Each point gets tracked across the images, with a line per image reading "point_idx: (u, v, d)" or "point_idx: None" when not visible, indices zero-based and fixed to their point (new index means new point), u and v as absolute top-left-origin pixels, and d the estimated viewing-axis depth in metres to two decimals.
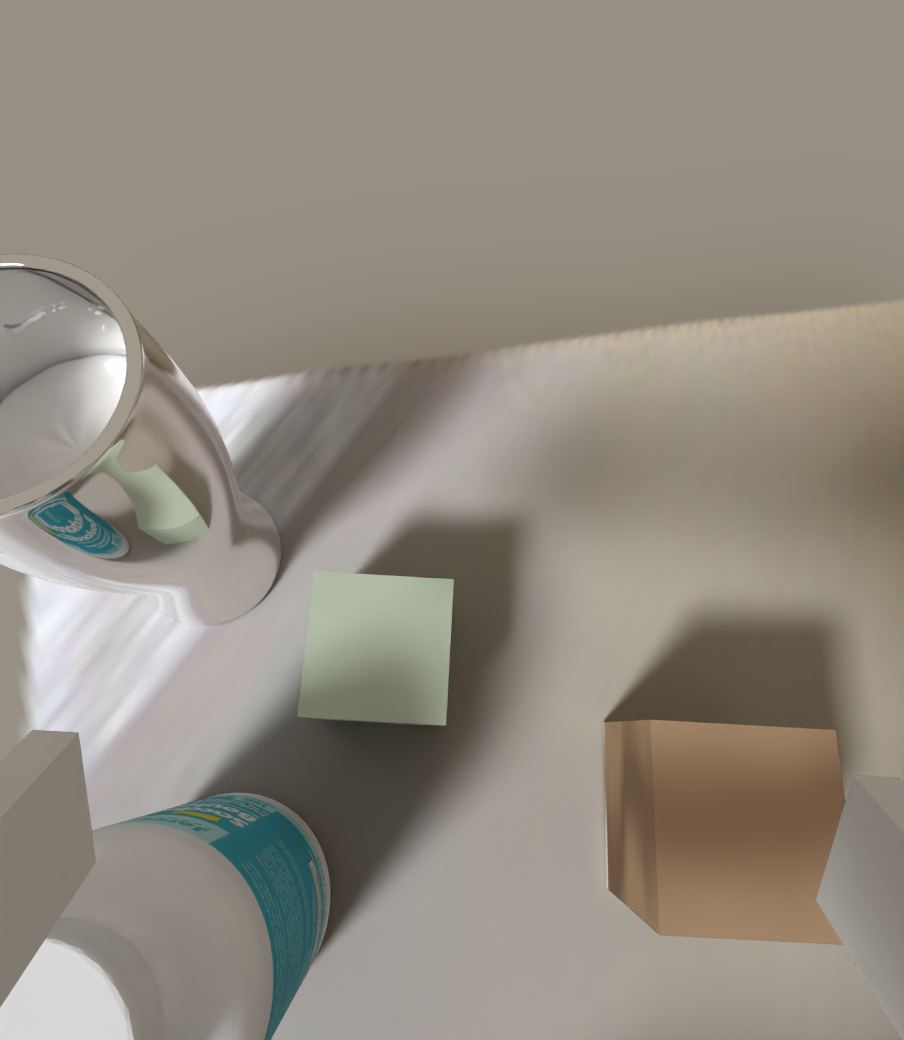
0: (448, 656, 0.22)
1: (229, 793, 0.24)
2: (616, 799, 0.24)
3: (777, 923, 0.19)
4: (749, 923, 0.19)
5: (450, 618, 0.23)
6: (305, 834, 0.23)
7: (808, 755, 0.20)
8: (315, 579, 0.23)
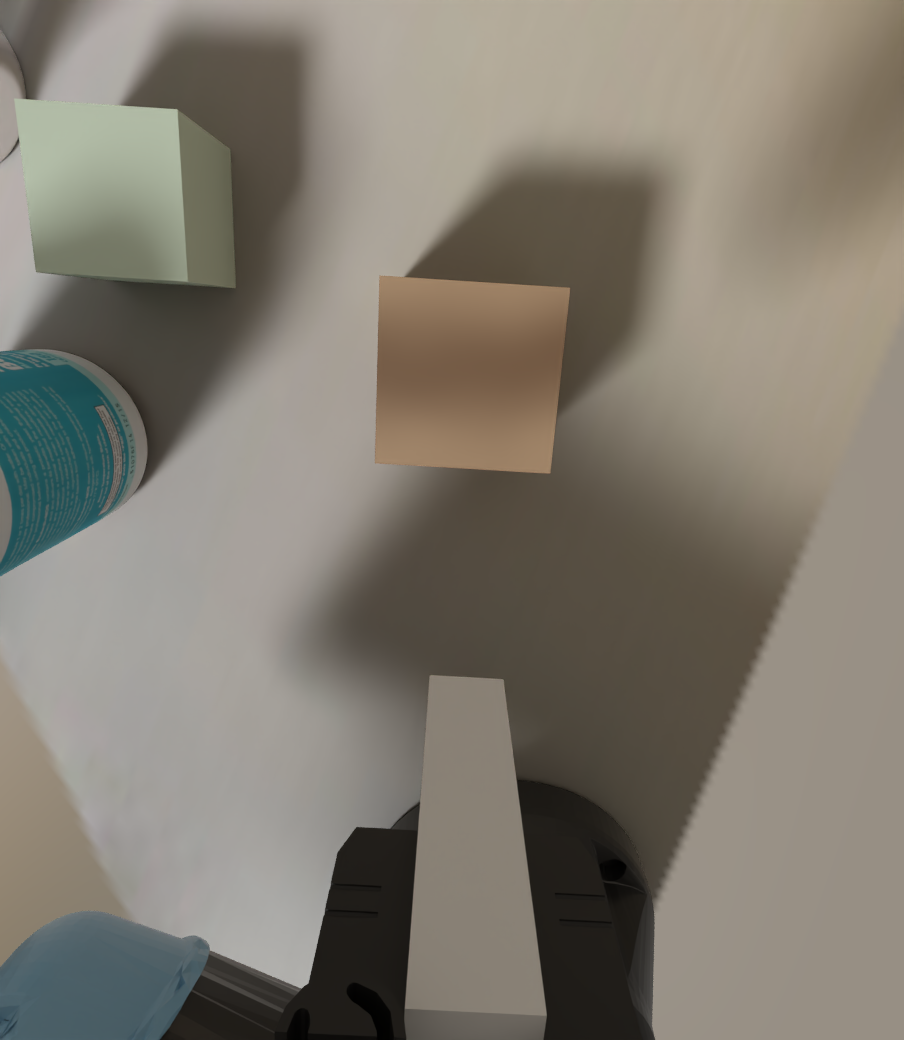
0: (182, 206, 0.21)
1: (30, 349, 0.26)
2: None
3: (478, 456, 0.22)
4: (454, 455, 0.22)
5: (179, 160, 0.20)
6: (101, 385, 0.25)
7: (536, 313, 0.20)
8: (18, 109, 0.20)
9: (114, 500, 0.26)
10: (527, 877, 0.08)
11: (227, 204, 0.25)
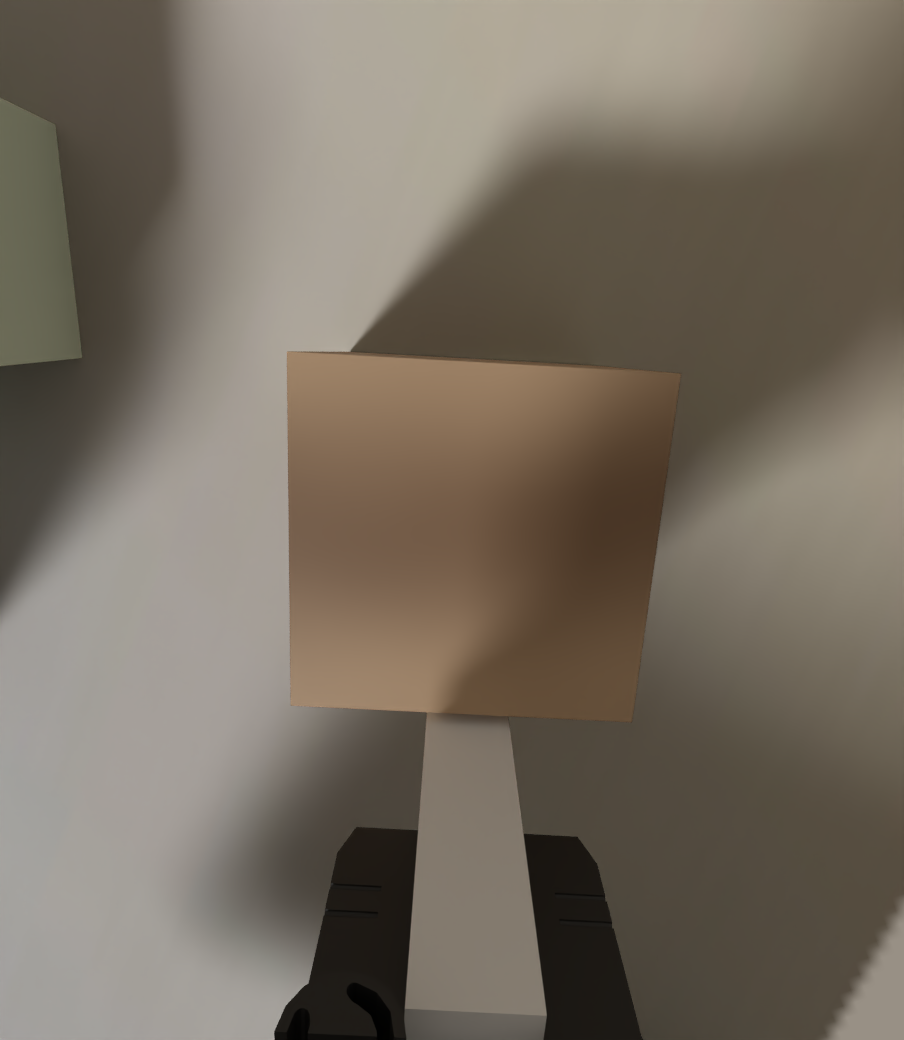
0: None
1: None
2: None
3: (492, 692, 0.11)
4: (444, 691, 0.11)
5: None
6: None
7: (609, 424, 0.10)
8: None
9: None
10: (527, 877, 0.08)
11: (50, 219, 0.14)
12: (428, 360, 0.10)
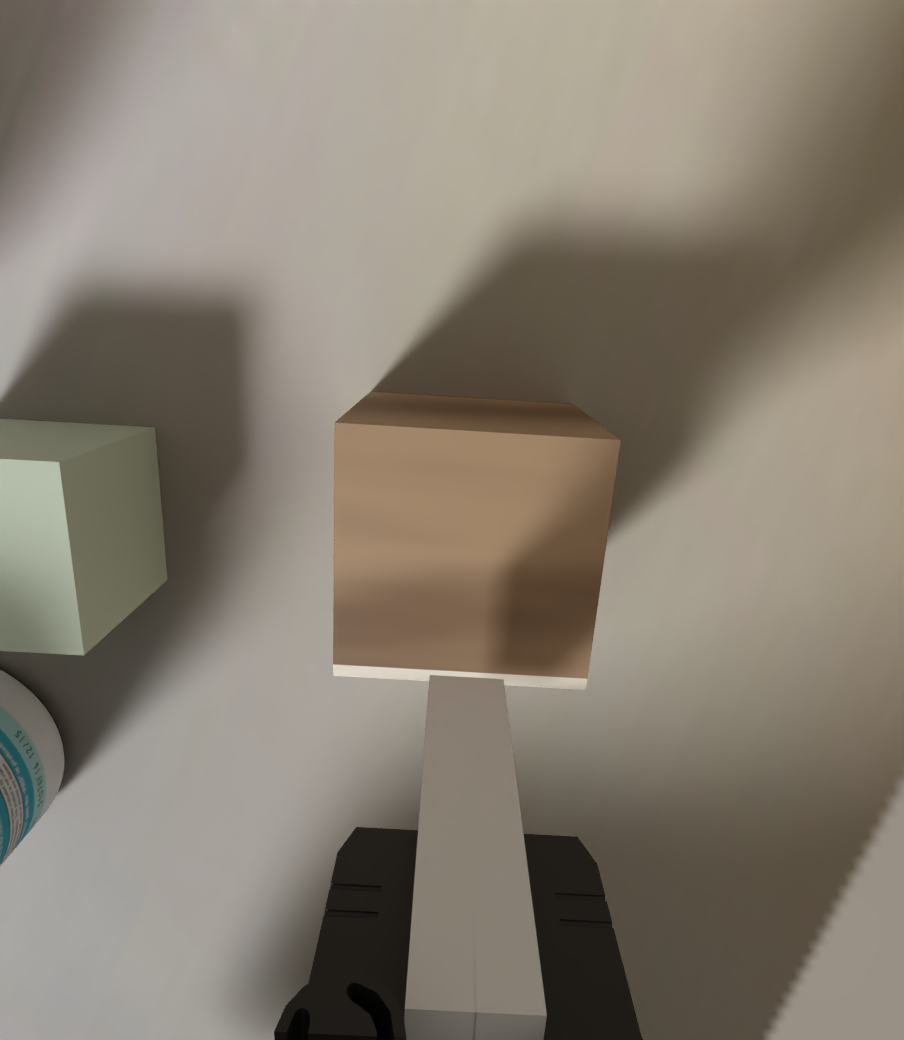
0: (72, 571, 0.16)
1: None
2: None
3: (500, 428, 0.14)
4: (462, 427, 0.14)
5: (65, 520, 0.15)
6: None
7: (542, 404, 0.18)
8: None
9: (16, 845, 0.21)
10: (527, 877, 0.08)
11: (151, 496, 0.19)
12: None
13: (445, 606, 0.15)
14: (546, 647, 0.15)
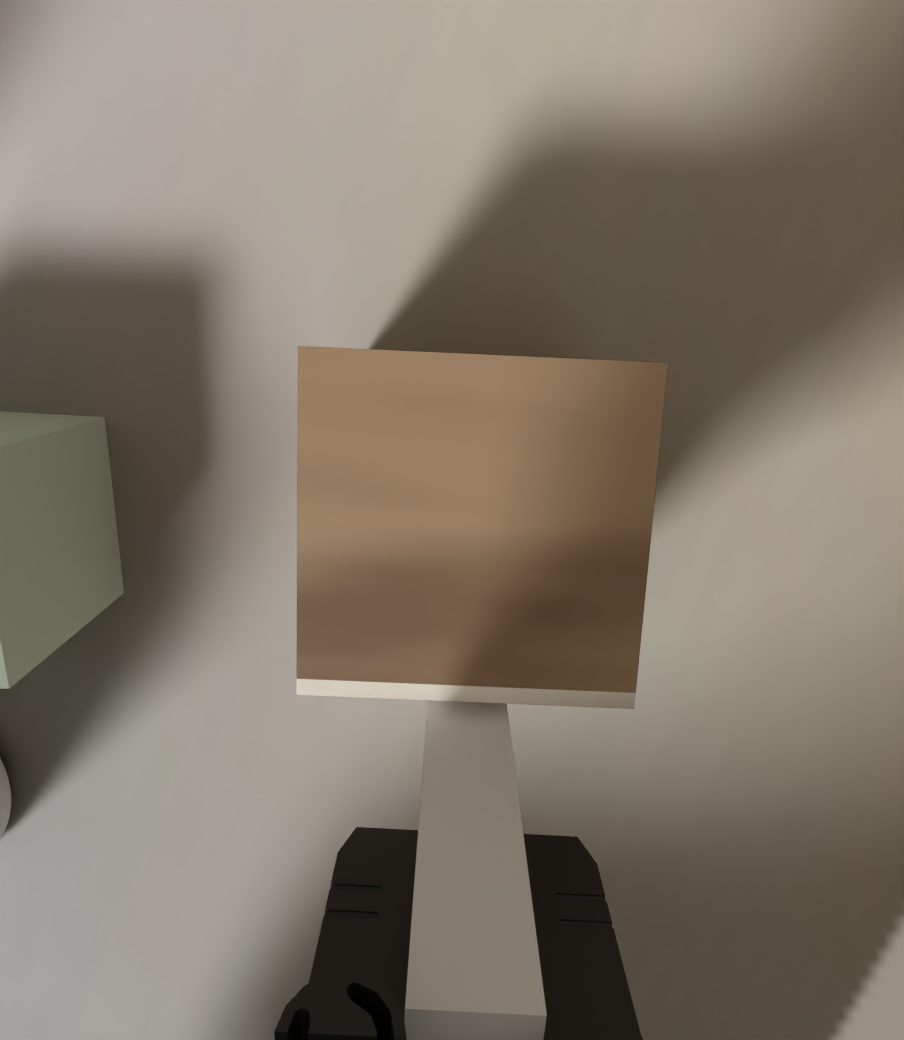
0: None
1: None
2: None
3: None
4: None
5: None
6: None
7: None
8: None
9: None
10: (527, 877, 0.08)
11: (101, 497, 0.17)
12: None
13: (444, 595, 0.11)
14: (579, 649, 0.11)
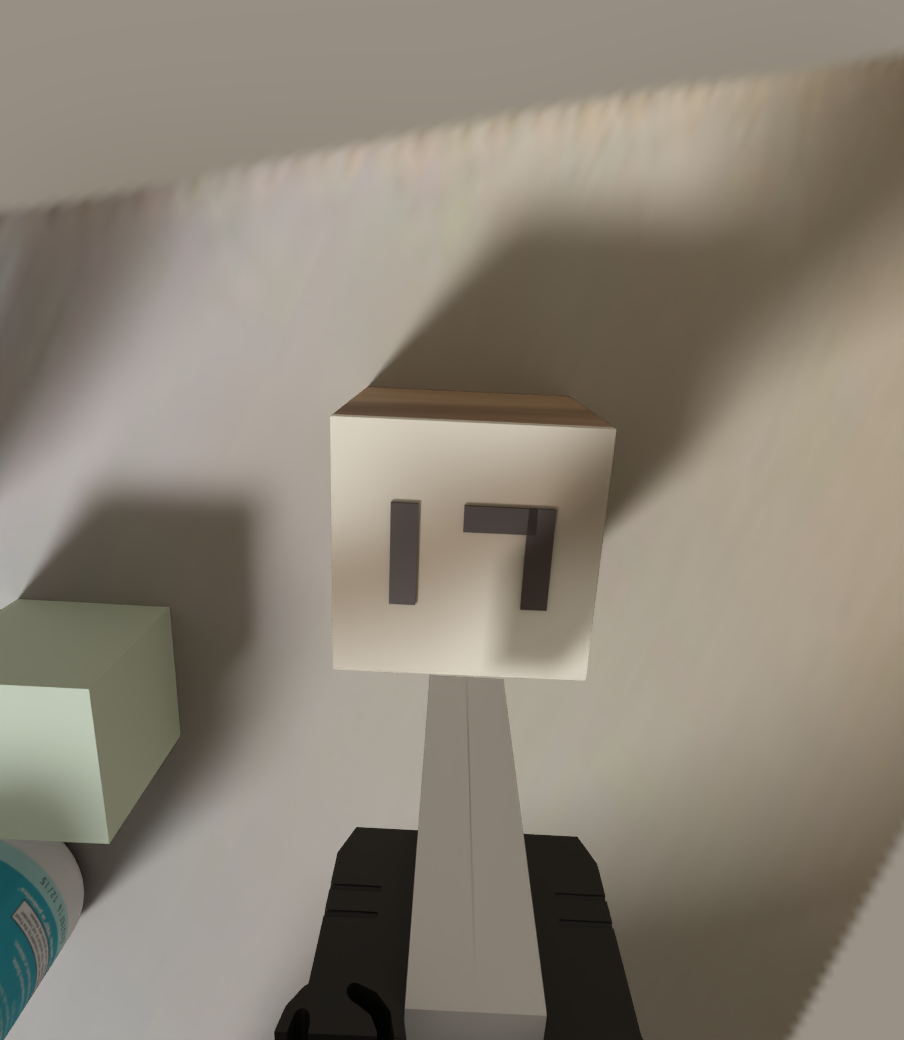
0: (99, 776, 0.17)
1: None
2: None
3: None
4: None
5: (93, 735, 0.17)
6: (25, 862, 0.22)
7: None
8: None
9: (41, 980, 0.23)
10: (527, 877, 0.08)
11: (166, 669, 0.21)
12: None
13: (452, 409, 0.15)
14: (559, 419, 0.14)
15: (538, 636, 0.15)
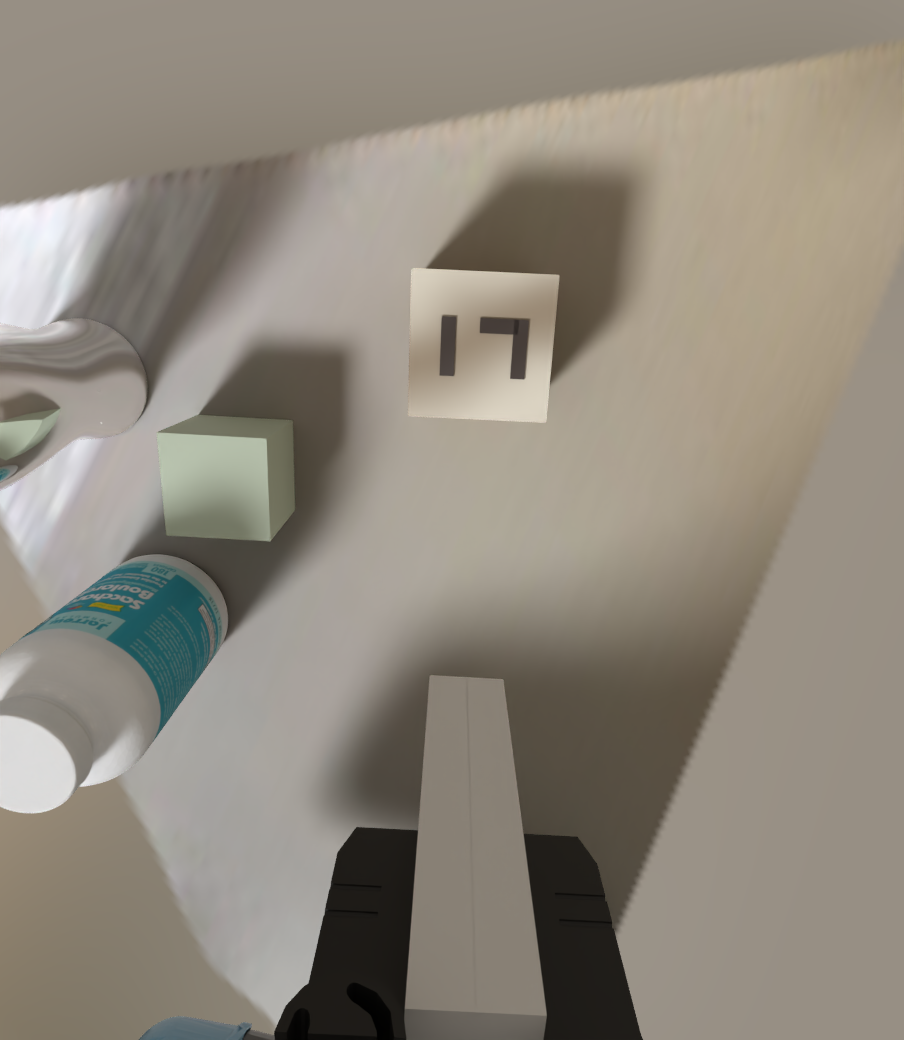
0: (267, 495, 0.30)
1: (146, 557, 0.35)
2: None
3: None
4: None
5: (266, 468, 0.30)
6: (199, 585, 0.35)
7: None
8: (158, 438, 0.29)
9: (207, 665, 0.36)
10: (527, 877, 0.08)
11: (291, 459, 0.34)
12: None
13: None
14: None
15: (520, 395, 0.27)
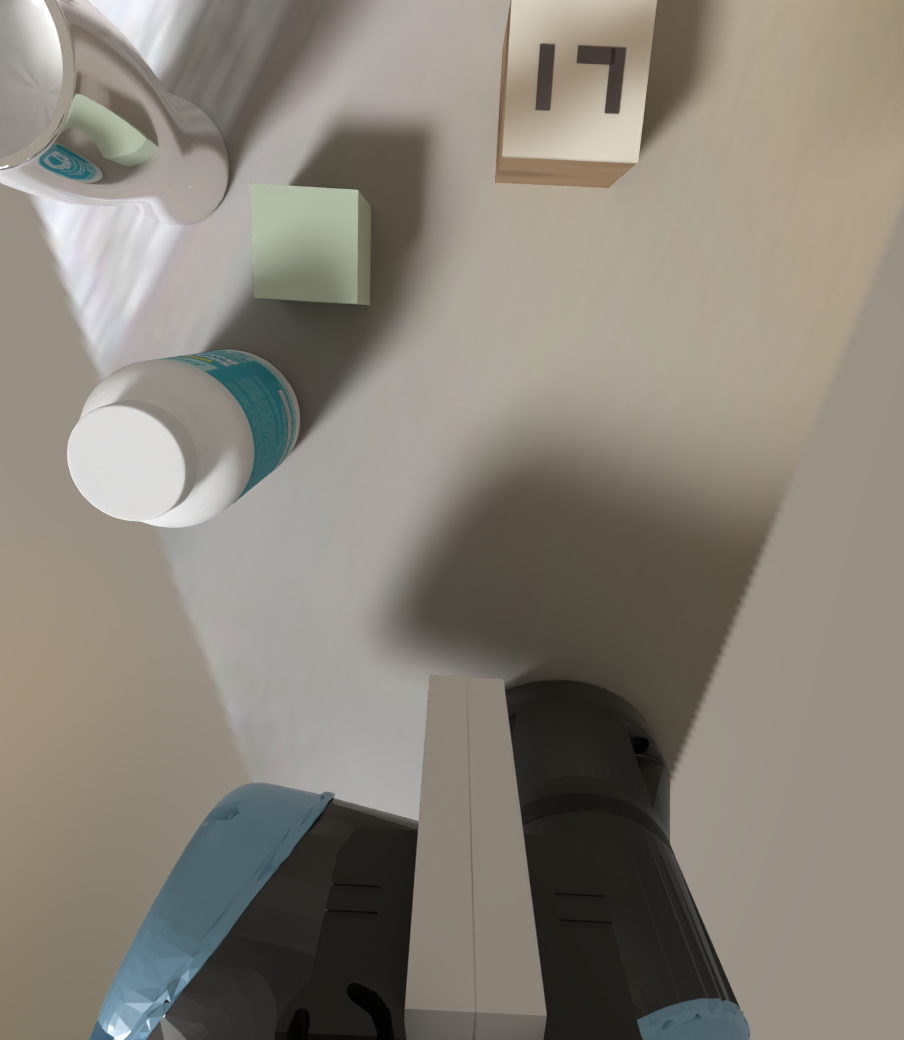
0: (356, 253, 0.30)
1: None
2: None
3: None
4: None
5: (357, 223, 0.30)
6: (276, 375, 0.35)
7: None
8: (251, 190, 0.30)
9: (282, 459, 0.36)
10: (527, 877, 0.08)
11: (369, 246, 0.34)
12: None
13: None
14: None
15: (613, 132, 0.28)
